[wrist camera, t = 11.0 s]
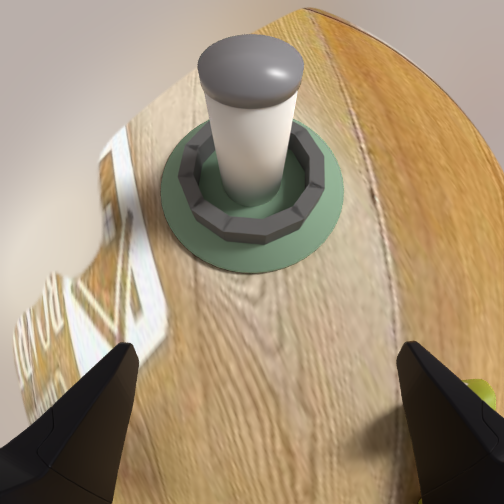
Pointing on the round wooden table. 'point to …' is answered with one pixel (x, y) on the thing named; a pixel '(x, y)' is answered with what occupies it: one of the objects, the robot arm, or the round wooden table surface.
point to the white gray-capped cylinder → (251, 111)
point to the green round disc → (258, 217)
